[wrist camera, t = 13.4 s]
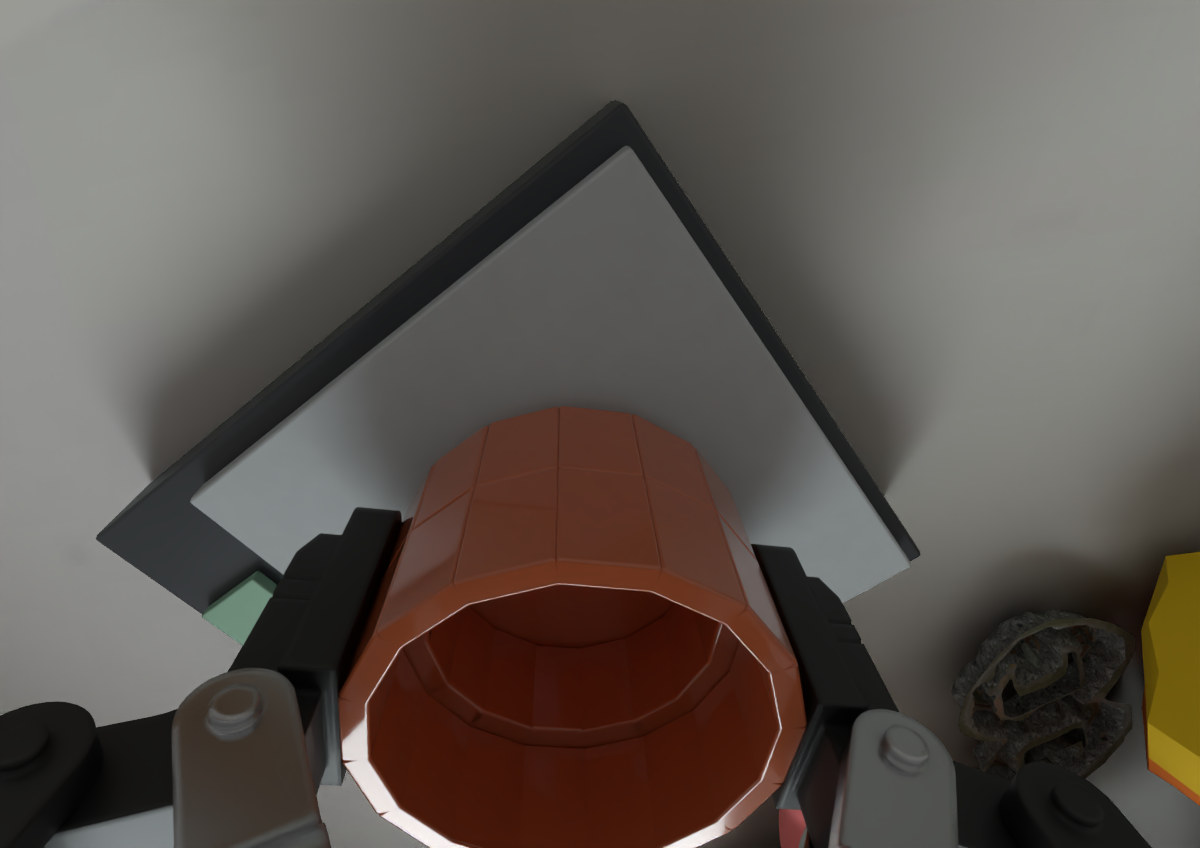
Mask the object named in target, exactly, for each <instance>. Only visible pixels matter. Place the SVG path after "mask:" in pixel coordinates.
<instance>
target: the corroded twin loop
mask: <svg viewBox="0 0 1200 848" xmlns="http://www.w3.org/2000/svg"><path fill="white" fill-rule="evenodd" d="M1070 652H1071V654H1072V656H1073V660H1074V661H1073V662H1072V663H1070V664H1069V666H1068V653H1070ZM1134 652H1135V638H1134V636H1133V635H1132V634H1131V633H1129V632H1127V631H1125V630H1123V629H1121V628H1120V627H1118V626H1117V625H1114V624H1112V623H1110V622H1106V621H1102V620H1098V619H1094V618H1085V617H1083V616H1081V615H1079V614H1075V613H1070V612H1065V611H1058V610H1051V609H1050V610H1047V611H1043V612H1039V613H1036V614H1033V613H1030V612H1023V613H1021V614H1019V615H1017V616H1015V617H1013V618H1011V619H1009V620H1006V621H1004V622H1002V623H1001V624H1000V625H999V628H998V629H997V630H996V631H994V632H993V634H991V635H990V636H989V637H988V638H987V639H986V640H985V641H984V642H983V643H982V644H981V645H980V647H979V650H978V654H977V657H976V659H975V661H972V662H970V663H969V664H967V665H966V666H965V667H963V669H962V670H961V671H960V672H959V674H958V676H957V677H956V678H955V680H954V683H953V687H952V695H953V697H954V699H955V700H956V702H957V703H958V705H959V706H960V707H961V708H962V710H961V713H960V720H959V725H958V726H959V728H960V731H961V732H962V733H963V734H965V735H967V736H970V737H973V738H976V739H978V740H980V742H979V744H978V745H977V746H975V747H974V753H975V757H976V758H977V760H978V762H979V768H980V770H981V771H982V772H985V773H988V774H991V775H994V776H997V777H1000V778H1003V779H1006V780H1009V781H1011V782H1012V780H1013V779H1014V777H1015V776H1016V774H1017V773H1018V771H1019V769H1020V768H1022V767H1023V766H1024V765H1026V764H1028V763H1032V762H1045V763H1050V764H1054V765H1057V766H1060V767H1063V768H1065V769H1067V770H1070V771H1072V772H1074V773H1075V774H1077V775H1079V776H1081V777H1082V778H1084V779H1085V778H1086V777H1088V776H1089V775H1090V774H1091V773H1092V772H1094V771H1095V770H1096V769H1097V768H1099V767H1100V766H1101V765H1103V764H1104V763H1105V762H1106V760H1107V759H1108V758H1109V757H1110V756H1111V755H1112V754H1113V753H1114V751H1115V750H1116V749H1117V748H1118V747H1119V746H1120V745H1121V743H1122V742H1123V741H1124V738H1125V736H1126V735H1127V734H1128V733H1129V731H1130V730H1131V729H1132V708H1131V706H1130V705H1128V704H1122V703H1117V702H1112V701H1108V700H1107V699H1106V698H1105V697H1106V695H1107V693H1108V692H1109V690H1110V689H1111V688H1112V687H1113V686H1114V685H1115V684H1116V682H1117V680H1118V679H1119V677H1120V676H1121V674H1122V673H1123V671H1124V669H1125V668H1126V666H1127V664H1128V663H1129V661H1130V659H1131V657H1132V656H1133V654H1134ZM1067 667H1068V668H1067ZM1010 679H1012V680H1013V685H1014V688H1015V690H1016V692H1017V694H1015V695H1013V696H1012V697H1011V698H1010V699H1008V700H1006V701H1004V702H1003V701H1002V697H1001V695H1002V691H1003V689H1004V688H1005V686H1006V684H1007V683H1008V681H1009V680H1010ZM1068 731H1069V732H1068ZM1066 732H1068V734H1067V735H1066V736H1065V737H1063V736H1062V735H1063V734H1064V733H1066ZM1024 755H1025V757H1024Z"/></svg>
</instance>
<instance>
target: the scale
mask: <svg viewBox="0 0 1200 848" xmlns="http://www.w3.org/2000/svg"><path fill="white" fill-rule="evenodd" d="M561 406H569V407H578V408H587V409H596V410H606V411H615V412H624V413H630V414H632V415H633V414H635V415H637V416H639V417H641V418H643V419H645V420H647V421H649V422H651V423H652V424H654V425H656V426H658V427H660V428H662V429H664V430H666V431H668V432H670V433H672V434H674V435H676V436H677V437H679V438H681V439H683V440H685V441H687V442H689V443H691V444H692V445H693V447H694V448H696V449H697V450H698V451H699V453H700V454H701V455H702V456H703V458H704V459H705V460H706V462H707V463H708V464H709V465H710V467H711V468H712V469H713V470H714V472H715V473H716V474H717V475H718V477H719V478H720V479H721V480H722V482H723V483H724V484H725V486H726V487H727V488H728V489H729V491H730V494H731V496H732V498H733V500H734V503H735V505H736V508H737V510H738V513H739V516H740V518H741V521H742V523H743V526H744V528H745V531H746V533H747V536H748V538H749V541H750V544H759V545H770V546H781V547H791V548H792V549H793V550H794V551H795V553H796V555H797V557H798V559H799V561H800V563H801V565H802V567H803V569H804V571H805V574H806V576H808V577H819V578H820V579H821V580H822V581H823V582H824V583H825V584H826V585H827V586H828V587H829V588H830V589H831V590H832V591H833V592H834V593H835V594H836V595H837V596H838V597H839V598H840V600H841V602H842V604H843V603H845V602H846V601H848V600H850V599H852V598H854V597H856V596H858V595H859V594H861V593H863V592H865V591H867V590H869V589H870V588H872V587H874V586H876V585H878V584H880V583H882V582H883V581H885V580H887V579H889V578H891V577H893V576H894V575H896V574H898V573H900V572H902V571H904V570H906V569H907V568H909V567H910V566H911V562H910V561H912V560H913V559H915V558H917V557H919V556H920V551H919V549H918V548H917V546H916V545H915V543H914V542H913V540H912V538H911V537H910V535H909V534H908V532H907V531H906V529H905V528H904V526H903V525H902V523H901V522H900V520H899V519H898V517H897V516H896V514H895V513H894V511H893V510H892V508H891V507H890V505H889V504H888V502H887V500H886V499H885V497H884V496H883V494H882V493H881V491H880V490H879V488H878V487H877V485H876V484H875V482H874V481H873V479H872V478H871V476H870V475H869V473H868V472H867V470H866V469H865V467H864V466H863V464H862V462H861V461H860V459H859V458H858V456H857V455H856V453H855V452H854V450H853V449H852V447H851V446H850V444H849V443H848V441H847V440H846V438H845V437H844V435H843V434H842V432H841V431H840V429H839V428H838V426H837V424H836V423H835V421H834V420H833V418H832V417H831V415H830V414H829V412H828V411H827V409H826V408H825V406H824V405H823V403H822V402H821V400H820V399H819V397H818V396H817V394H816V393H815V391H814V390H813V388H812V386H811V385H810V383H809V382H808V380H807V379H806V377H805V376H804V374H803V373H802V371H801V370H800V368H799V367H798V365H797V364H796V362H795V361H794V359H793V358H792V356H791V355H790V353H789V352H788V350H787V348H786V347H785V345H784V344H783V342H782V341H781V339H780V338H779V336H778V335H777V333H776V332H775V330H774V329H773V327H772V326H771V324H770V323H769V321H768V320H767V318H766V317H765V315H764V314H763V312H762V310H761V309H760V307H759V306H758V304H757V303H756V301H755V300H754V298H753V297H752V295H751V294H750V292H749V291H748V289H747V288H746V286H745V285H744V283H743V282H742V280H741V279H740V277H739V276H738V274H737V272H736V271H735V269H734V268H733V266H732V265H731V263H730V262H729V260H728V259H727V257H726V256H725V254H724V253H723V251H722V250H721V248H720V247H719V245H718V244H717V242H716V241H715V239H714V238H713V236H712V234H711V233H710V231H709V230H708V228H707V227H706V225H705V224H704V222H703V221H702V219H701V218H700V216H699V215H698V213H697V212H696V210H695V209H694V207H693V206H692V204H691V203H690V201H689V200H688V198H687V196H686V195H685V193H684V192H683V190H682V189H681V187H680V186H679V184H678V183H677V181H676V180H675V178H674V177H673V175H672V174H671V172H670V171H669V169H668V168H667V166H666V165H665V163H664V162H663V160H662V158H661V157H660V155H659V154H658V152H657V151H656V149H655V148H654V146H653V145H652V143H651V142H650V140H649V139H648V137H647V136H646V134H645V133H644V131H643V130H642V128H641V127H640V125H639V124H638V122H637V120H636V119H635V117H634V116H633V114H632V113H631V111H630V110H629V108H628V107H627V106H626V105H625V104H623V103H621V102H619V101H617V100H613V101H611V102H610V103H609V104H607V105H606V106H605V107H604V108H603V109H601V110H600V111H599V112H598V113H596V114H595V115H594V116H593V117H592V118H590V119H589V120H588V121H587V122H586V123H584V124H583V125H582V126H581V127H580V128H578V129H577V130H576V131H575V132H574V133H572V134H571V135H570V136H569V137H568V138H566V139H565V140H564V141H563V142H562V143H560V144H559V145H558V146H557V147H555V148H554V149H553V150H552V151H551V152H549V153H548V154H547V155H546V156H545V157H543V158H542V159H541V160H540V161H539V162H537V163H536V164H535V165H534V166H533V167H531V168H530V169H529V170H528V171H527V172H525V173H524V174H523V175H522V176H521V177H519V178H518V179H517V180H516V181H514V182H513V183H512V184H511V185H510V186H508V187H507V188H506V189H505V190H504V191H502V192H501V193H500V194H499V195H498V196H496V197H495V198H494V199H493V200H492V201H490V202H489V203H488V204H487V205H486V206H484V207H483V208H482V209H481V210H480V211H478V212H477V213H476V214H475V215H473V216H472V217H471V218H470V219H469V220H467V221H466V222H465V223H464V224H463V225H461V226H460V227H459V228H458V229H457V230H455V231H454V232H453V233H452V234H451V235H449V236H448V237H447V238H446V239H445V240H443V241H442V242H441V243H440V244H439V245H437V246H436V247H435V248H434V249H432V250H431V251H430V252H429V253H428V254H426V255H425V256H424V257H423V258H422V259H420V260H419V261H418V262H417V263H416V264H414V265H413V266H412V267H411V268H410V269H408V270H407V271H406V272H405V273H404V274H402V275H401V276H400V277H399V278H397V279H396V280H395V281H394V282H393V283H391V284H390V285H389V286H388V287H387V288H385V289H384V290H383V291H382V292H381V293H379V294H378V295H377V296H376V297H375V298H373V299H372V300H371V301H370V302H369V303H367V304H366V305H365V306H364V307H363V308H361V309H360V310H359V311H358V312H356V313H355V314H354V315H353V316H352V317H350V318H349V319H348V320H347V321H346V322H344V323H343V324H342V325H341V326H340V327H338V328H337V329H336V330H335V331H334V332H332V333H331V334H330V335H329V336H328V337H326V338H325V339H324V340H323V341H322V342H320V343H319V344H318V345H317V346H315V347H314V348H313V349H312V350H311V351H309V352H308V353H307V354H306V355H305V356H303V357H302V358H301V359H300V360H299V361H297V362H296V363H295V364H294V365H293V366H291V367H290V368H289V369H288V370H287V371H285V372H284V373H283V374H282V375H281V376H279V377H278V378H277V379H276V380H274V381H273V382H272V383H271V384H270V385H268V386H267V387H266V388H265V389H264V390H262V391H261V392H260V393H259V394H258V395H256V396H255V397H254V398H253V399H252V400H250V401H249V402H248V403H247V404H246V405H244V406H243V407H242V408H241V409H240V410H238V411H237V412H236V413H235V414H233V415H232V416H231V417H230V418H229V419H227V420H226V421H225V422H224V423H223V424H221V425H220V426H219V427H218V428H217V429H215V430H214V431H213V432H212V433H211V434H209V435H208V436H207V437H206V438H205V439H203V440H202V441H201V442H200V443H198V444H197V445H196V446H195V447H194V448H192V449H191V450H190V451H189V452H188V453H186V454H185V455H184V456H183V457H182V458H180V459H179V460H178V461H177V462H176V463H174V464H173V465H172V466H171V467H170V468H168V469H167V470H166V471H165V472H164V473H162V474H161V475H160V476H159V477H157V478H156V479H155V480H154V481H153V482H151V483H150V484H149V485H148V486H147V487H146V488H145V489H144V490H143V491H142V492H141V493H140V494H139V495H138V496H137V497H136V498H135V499H134V500H133V501H132V502H131V503H130V504H129V505H127V506H126V507H125V508H124V509H123V510H122V511H121V512H120V513H119V514H118V515H117V516H116V517H115V518H114V519H113V520H112V521H111V522H110V523H109V524H108V525H107V526H106V527H105V528H104V529H103V530H102V531H101V532H100V533H99V534H98V535H97V537H96V539H97V541H99V542H100V543H102V544H103V545H104V546H106V547H107V548H109V549H110V550H112V551H113V552H114V553H116V554H117V555H119V556H120V557H122V558H123V559H124V560H126V561H127V562H129V563H130V564H132V565H133V566H134V567H136V568H137V569H139V570H140V571H141V572H143V573H144V574H146V575H147V576H149V577H150V578H151V579H153V580H154V581H156V582H157V583H159V584H160V585H161V586H163V587H164V588H166V589H167V590H169V591H170V592H171V593H173V594H174V595H176V596H177V597H178V598H180V599H181V600H183V601H184V602H186V603H187V604H188V605H190V606H191V607H193V608H194V609H196V610H197V611H198V612H200V613H201V614H203V615H202V617H203V618H204V619H206V620H207V621H208V622H210V623H211V624H213V625H214V626H216V627H217V628H218V629H220V630H221V631H223V632H224V633H226V634H227V635H228V636H230V637H231V638H233V639H234V640H236V641H237V642H238V643H240V644H241V645H244V643H245V641H246V639H247V638H248V636H249V634H250V632H251V631H252V629H253V627H254V625H255V624H256V622H257V620H258V618H259V617H260V615H261V613H262V611H263V609H264V608H265V606H266V604H267V602H268V601H269V599H270V597H271V598H272V597H273V592H274V590H275V588H276V587H277V585H278V583H279V581H280V580H281V578H282V579H283V577H284V573H285V571H286V569H287V567H288V566H289V564H290V562H291V560H292V559H293V557H294V555H295V553H296V552H297V551H298V550H299V549H300V548H302V547H303V546H304V545H306V544H307V543H308V542H309V541H311V540H312V539H313V538H315V537H316V536H317V535H319V534H320V533H323V534H335V535H342V533H343V531H344V529H345V527H346V525H347V523H348V521H349V519H350V517H351V515H352V513H353V511H354V509H355V508H356V507H363V508H374V509H386V510H397V511H400V512H401V515H402V521H403V519H404V516H405V513H406V511H407V509H408V507H409V506H410V504H411V502H412V500H413V498H414V497H415V495H416V493H417V491H418V489H419V488H420V486H421V484H422V482H423V480H424V479H425V477H426V475H427V473H428V471H429V470H430V468H431V466H433V465H434V464H435V463H436V461H437V460H439V459H440V458H441V457H443V456H444V455H445V454H447V453H448V452H450V451H451V450H452V449H454V448H455V447H457V446H458V445H459V444H461V443H462V442H463V441H465V440H466V439H468V438H469V437H470V436H472V435H473V434H475V433H476V432H477V431H479V430H480V429H481V428H483V427H485V426H487V425H488V426H489V424H491V423H492V422H496V421H500V420H504V419H508V418H512V417H516V416H520V415H524V414H528V413H532V412H536V411H540V410H544V409H548V408H552V407H559V408H560V407H561Z"/></svg>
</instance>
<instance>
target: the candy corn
mask: <svg viewBox="0 0 1200 848" xmlns="http://www.w3.org/2000/svg"><path fill="white" fill-rule="evenodd" d="M1141 636H1142V650H1143V664H1144V678H1145V686H1144V694H1143V702H1142V714H1143V724H1144V735H1145V745H1146V756H1147V766H1148V770H1150V771H1151V772H1153V773H1154V774H1156V775H1157V776H1159V777H1160V778H1162V779H1163V780H1165V781H1167V782H1168V783H1170V784H1171V785H1173V786H1174V787H1175V788H1177V789H1178V790H1179V791H1181V792H1182V793H1183V794H1185V795H1186V796H1187V797H1189V798H1190V799H1191V800H1193V801H1194V802H1195V803H1197V804H1198V805H1199V806H1200V552H1194V553H1186V554H1178V555H1171V556H1166V557H1165V560H1164V563H1163V566H1162V569H1161V572H1160V575H1159V578H1158V581H1157V584H1156V587H1155V590H1154V593H1153V596H1152V599H1151V602H1150V605H1149V608H1148V611H1147V614H1146V617H1145V620H1144V623H1143V626H1142V629H1141Z"/></svg>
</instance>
